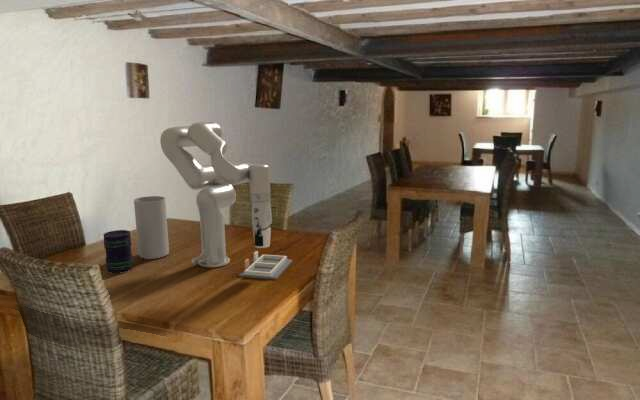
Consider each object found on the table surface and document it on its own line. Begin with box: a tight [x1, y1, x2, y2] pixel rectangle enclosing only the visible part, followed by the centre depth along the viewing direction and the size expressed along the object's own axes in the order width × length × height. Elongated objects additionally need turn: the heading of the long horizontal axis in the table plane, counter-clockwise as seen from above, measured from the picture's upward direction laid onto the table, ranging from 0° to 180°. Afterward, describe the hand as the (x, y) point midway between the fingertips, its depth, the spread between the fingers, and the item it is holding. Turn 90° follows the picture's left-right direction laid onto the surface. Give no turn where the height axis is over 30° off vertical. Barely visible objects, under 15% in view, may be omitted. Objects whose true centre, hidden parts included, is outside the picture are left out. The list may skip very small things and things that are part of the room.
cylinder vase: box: [133, 195, 170, 260], centre depth 200 cm, size 12×12×25 cm
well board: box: [238, 250, 293, 281], centre depth 185 cm, size 21×15×5 cm
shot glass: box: [252, 226, 272, 249], centre depth 178 cm, size 7×7×7 cm
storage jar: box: [103, 229, 134, 274], centre depth 184 cm, size 10×10×15 cm
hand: (262, 242), depth 178 cm, fingers closed on shot glass, 6 cm apart
